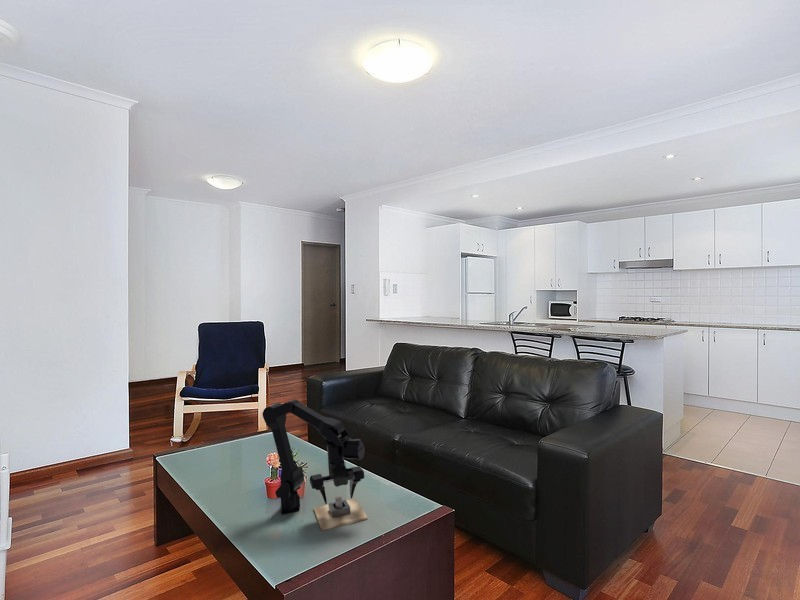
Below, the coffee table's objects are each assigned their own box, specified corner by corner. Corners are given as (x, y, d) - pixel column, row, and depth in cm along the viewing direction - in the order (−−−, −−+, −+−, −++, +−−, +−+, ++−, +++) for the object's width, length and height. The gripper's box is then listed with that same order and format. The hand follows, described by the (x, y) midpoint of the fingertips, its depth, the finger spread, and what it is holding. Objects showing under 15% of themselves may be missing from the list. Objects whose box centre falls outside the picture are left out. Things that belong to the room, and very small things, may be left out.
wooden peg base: (321, 530, 150) (320, 511, 150) (313, 509, 165) (312, 492, 165) (367, 519, 156) (366, 501, 155) (355, 500, 171) (354, 483, 170)
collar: (332, 518, 156) (332, 511, 156) (328, 510, 162) (328, 503, 162) (350, 514, 158) (350, 507, 158) (346, 506, 164) (345, 499, 164)
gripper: (313, 470, 149) (316, 516, 149) (367, 459, 156) (370, 504, 156) (308, 459, 160) (311, 503, 160) (358, 450, 166) (361, 491, 166)
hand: (338, 500), depth 160 cm, fingers open, 9 cm apart
